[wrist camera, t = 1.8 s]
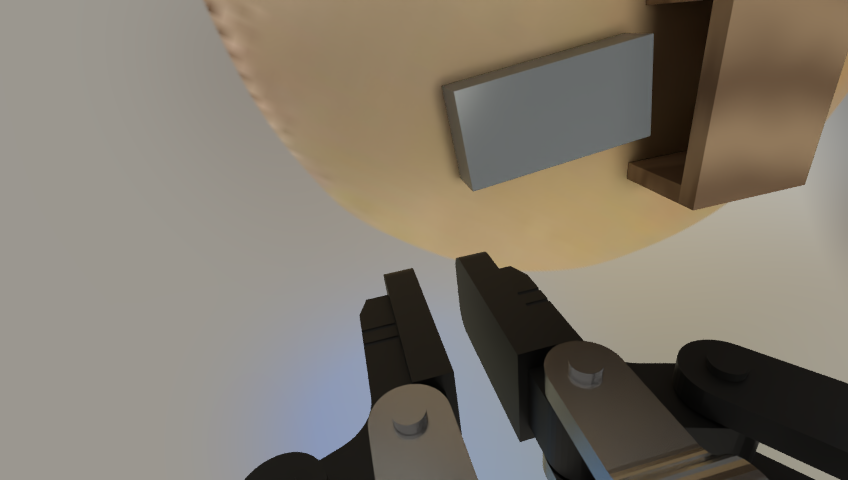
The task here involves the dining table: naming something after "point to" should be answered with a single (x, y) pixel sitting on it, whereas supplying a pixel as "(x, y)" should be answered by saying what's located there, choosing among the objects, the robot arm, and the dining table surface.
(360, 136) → the dining table surface
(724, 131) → the walnut bridge
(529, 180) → the dining table surface
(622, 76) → the grey rectangular block
